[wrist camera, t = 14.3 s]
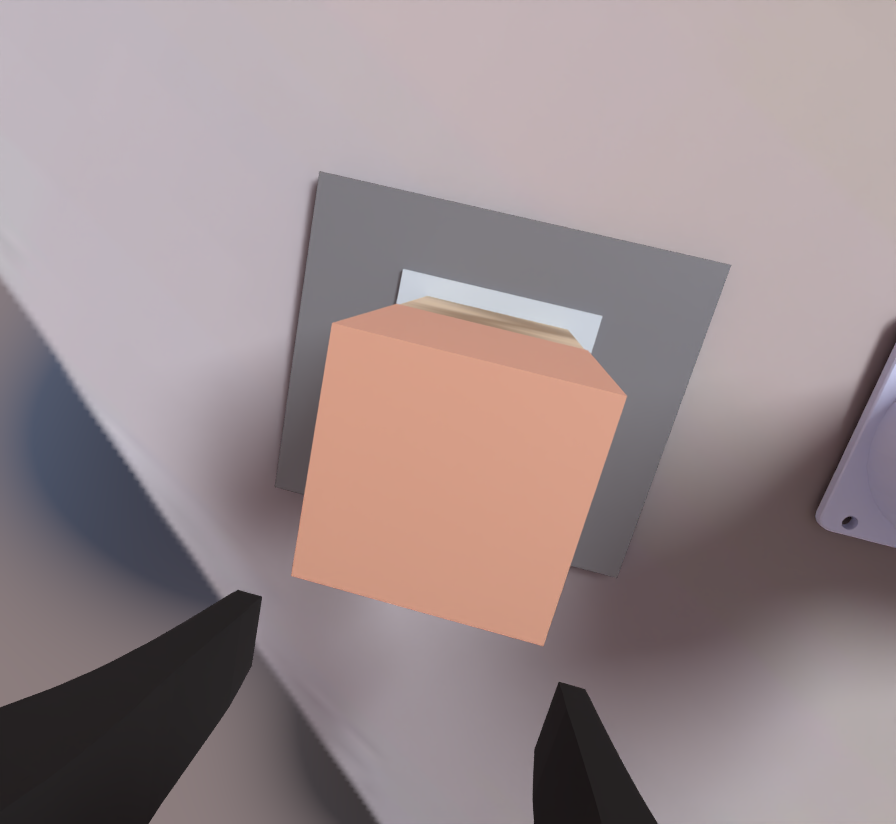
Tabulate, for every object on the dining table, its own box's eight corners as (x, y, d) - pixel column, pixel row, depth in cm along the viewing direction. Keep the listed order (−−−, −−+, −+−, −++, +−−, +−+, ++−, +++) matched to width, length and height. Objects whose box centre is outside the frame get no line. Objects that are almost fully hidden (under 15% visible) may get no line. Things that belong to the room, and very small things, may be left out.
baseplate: (724, 265, 18) (733, 265, 17) (614, 569, 21) (617, 581, 20) (325, 173, 19) (317, 170, 18) (281, 481, 22) (272, 488, 21)
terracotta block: (587, 350, 13) (627, 395, 9) (534, 523, 15) (543, 646, 10) (397, 303, 14) (332, 322, 9) (363, 478, 15) (291, 575, 10)
